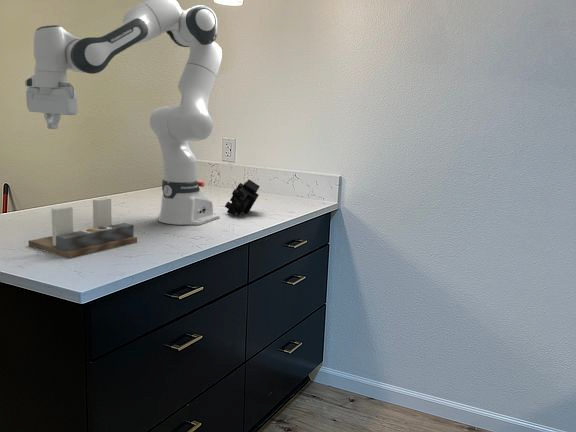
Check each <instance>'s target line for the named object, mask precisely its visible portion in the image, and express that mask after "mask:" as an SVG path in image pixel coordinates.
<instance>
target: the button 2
mask: <svg viewBox="0 0 576 432" xmlns="http://www.w3.org/2000/svg"><path fill="white" fill-rule="evenodd" d="M92 219H93V220H92V221H93V222H92V225H93V226H92V228H98V227H102V226H111V225H113V224H112V198H109V197H103V198H95V199H92Z"/></svg>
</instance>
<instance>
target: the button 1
mask: <svg viewBox="0 0 576 432" xmlns="http://www.w3.org/2000/svg"><path fill="white" fill-rule="evenodd" d="M73 215H74V214H73V207H72V206H61V207H56V208H55V207H54V208H51V226H52V227H51V229H52V230H51V231H52V235H51V236H52V237H53V245H54V246H56V236H59V235H64V234H70V233H73V232H74V220H73V219H74V217H73Z"/></svg>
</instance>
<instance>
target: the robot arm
mask: <svg viewBox="0 0 576 432" xmlns="http://www.w3.org/2000/svg"><path fill="white" fill-rule="evenodd" d="M164 33H166V34H167V35H168V36H169V37H170V40H171V41H172V42H173V43H174V44H175V45H176V46H179V47H183V48H189V55H188V58H187V60H186V63H185V65H184V68H183V70H182V73H181V75H180V78H179V81H178V83H177V88H178V90H179V93H180V94H181V99H180V103H179V105H178V106H176V105H174V106H173V105H165V106H161V107H158V108H155V109H154V110H153V111H152V112H151V114H150V117H149V126H150V129H151V130H152V132H153V133H154V134H155V135H156V137H157V140H158V143H159V146H160V149H161V155H162V159H163V162H162V163H163V164H162V165H163V179H162V183H161V190H162V196H161V203H160V213H159V214H158V221H159V222H160V223H163V224H168V225H180V226H181V225H195V226H198V225H202V224H205V223H209V222H212V221H214V220H217V219H219V218H220V215H219V214H218V213H215V212H214V207H213V202H212V200H210V198H209V197H207V196H206V195H205V194H204V193H203V192H201V191H200V187H201V188H202V187H203V188H204V187H205V184H206V182H205V181H202V180H197V157H196V155H195V154H194V153H193V152H192V150H191V148H190V145H189V142H197V141H202V140H206V139H207V138H208V137H209V136H210V135H211V133H213V132H212V131H213V128H214V125H213V124H214V123H213V119H212V117H211V115H210V113H209V102H210V101H209V99H210V96H211V93H212V89H213V87H214V84H215V82H216V79H217V76H218V75H219V70H220V68H221V62H222V57H223V53H222V52H223V51H222V48H221V47H220V46H219V44H218V43H216V42H215V41H216V40H217V39H218V18H217V15H216V13H215V11H214V10H213V9H211V8H210V7H209V6H206V5H202V4H201V5H194V6H192V7H190V8H188V9H186V10H184V9H183V8H182V7H180V4H179V3H178V1H177V0H145V1H143V2H141V3H139V4H137V5H135V6H134V7H132V8H130V10H128V11H127V12H126V13H124V15H123V19H122V25H120V26H119V27H116V28H115V29H113V30H111V31H109V32H108V33H106V34H104V35H102V36H99V37H97V36H96V37H90V36H89V37H85V38H79V37H77V36H75V35H73V34H72V33H70V32H69V31H67V30H66V29H64V28H63V26H61V25H58V24H57V25H44V26H39V27H38V28H36V30H35V31H34V36H33V56H34V58H33V59H34V60H35V66H34V74H33V75H32V76H30V77H28V78H27V79H25V81H24V85H25V87H26V91H25V97H26V99H25V101H26V108H27V110H28V111H29V112H31V113H39V114H41V113H42V114H43V117H44V120H45V122H46V127H47V129H48V130H58V129H59V123H60V120H61V118H62V117H61V116H62V115H63V116H76V115H77V113H78V112H79V109H78V99H77V94H76V92H75V87H74V86H73V85H72V84H71V83H70V82H68V80H67V79H68V76H67V75H68V73H67V71H68V70H70V71H72V72H75V73H82V74H83V73H85V74H92V75H94V74H98V73H100V72H103V71H104V70H105V69H106V67H107V66H108V65H109V63H110V62H111V61H112V59H113V58H114V57H115V56H116V55H118V54H120V53H122V52H124V51H125V50H127V49H129V48H131V47H132V46H133V45H135V44H142V43H146V42H148V41H150V40H153V39H155V38H157V37H159V36H161V35H163V34H164Z"/></svg>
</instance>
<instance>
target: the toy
mask: <svg viewBox="0 0 576 432" xmlns="http://www.w3.org/2000/svg"><path fill="white" fill-rule="evenodd" d="M260 187H261V186H260V185H258V184H257V183H255V182H254V181H253V180H251V179H248V180H247V181H245V182H244V183H242V182H239V183H238V185H237V186H236V188H234V189H233V191H232V192H231V194H232V196H231V198H230V200H229V201H227V202H226V204H225V206H224V208H226V209H227V211H226V213H228V214H229V215H230V214H231V215H232V216H234V217H235V216H236V214H237V215H239V216H241V215H242V214H245V215H248V214H249V212H250V211H251V209H252V207H253V206H254V204H255V202H256V201H257V199H258V197H259V196H260V194H259V193H257V192H258V190H259V189H260Z"/></svg>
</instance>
